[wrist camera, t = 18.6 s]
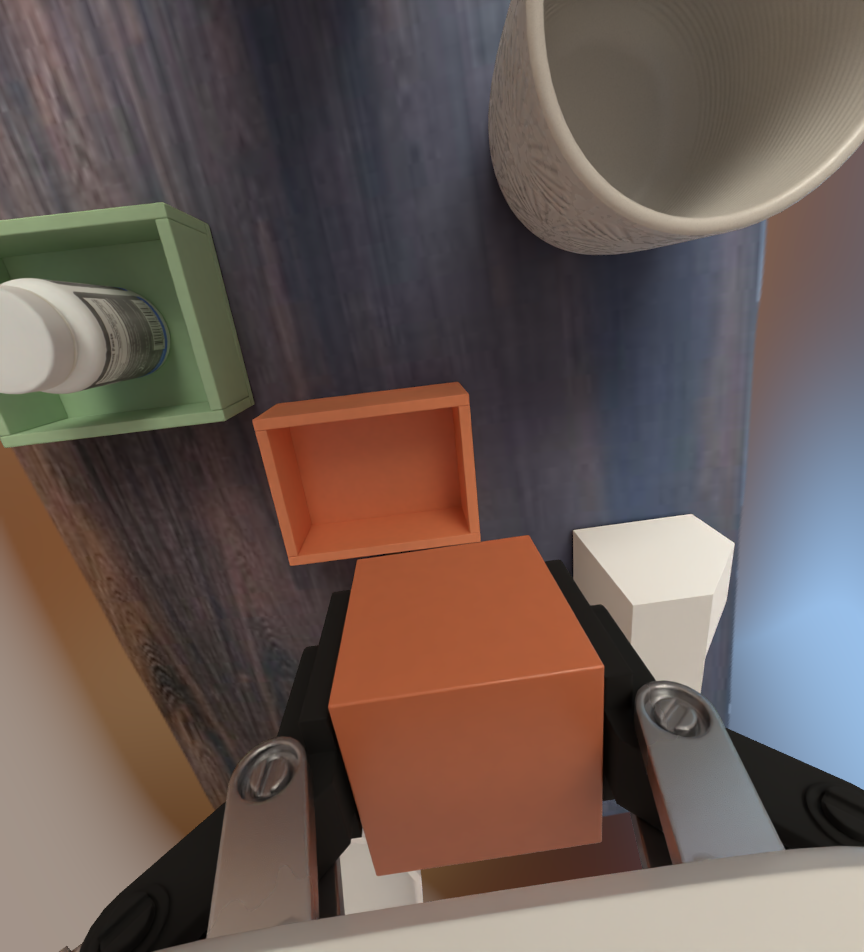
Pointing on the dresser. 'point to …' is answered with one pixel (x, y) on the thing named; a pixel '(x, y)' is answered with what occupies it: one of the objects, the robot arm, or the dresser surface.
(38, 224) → the green bin
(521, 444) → the dresser surface
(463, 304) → the dresser surface
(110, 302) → the pill bottle
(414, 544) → the terracotta bin
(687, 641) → the white rectangular cuboid
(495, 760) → the block
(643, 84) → the planter
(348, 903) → the cup
